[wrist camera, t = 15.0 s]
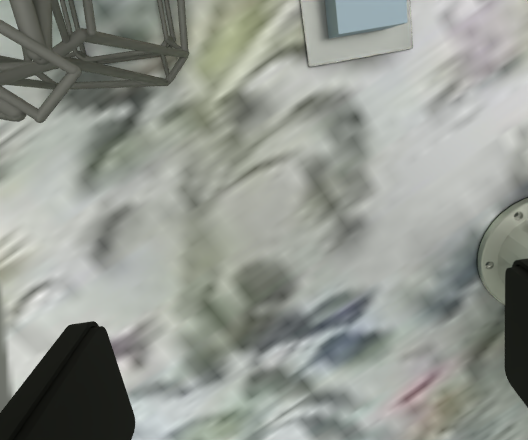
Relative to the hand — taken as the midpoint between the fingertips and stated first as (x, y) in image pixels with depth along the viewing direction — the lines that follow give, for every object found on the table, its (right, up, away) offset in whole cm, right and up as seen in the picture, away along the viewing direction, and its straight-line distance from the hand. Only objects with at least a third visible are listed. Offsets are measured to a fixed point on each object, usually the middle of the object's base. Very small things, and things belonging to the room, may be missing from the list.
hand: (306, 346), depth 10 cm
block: (+7, +21, +27) cm, 35 cm away
